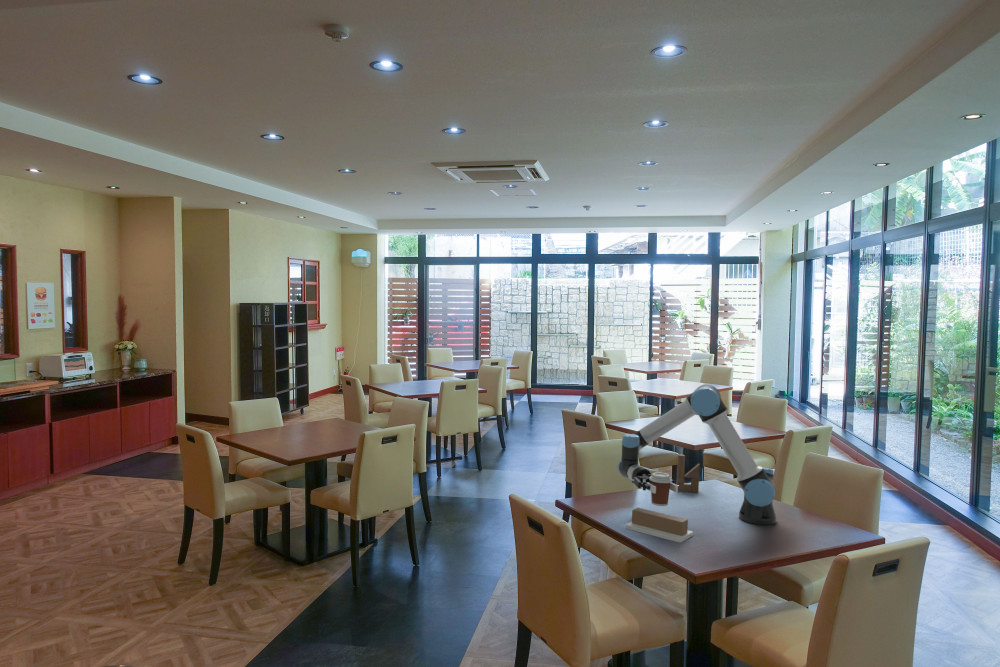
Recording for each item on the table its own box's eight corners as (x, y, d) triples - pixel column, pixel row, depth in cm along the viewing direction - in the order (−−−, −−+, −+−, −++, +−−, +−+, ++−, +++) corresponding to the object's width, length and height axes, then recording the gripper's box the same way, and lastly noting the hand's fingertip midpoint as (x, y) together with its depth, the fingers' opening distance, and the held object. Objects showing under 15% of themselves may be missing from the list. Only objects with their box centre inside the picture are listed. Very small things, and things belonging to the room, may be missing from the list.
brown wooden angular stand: (698, 492, 324) (699, 457, 324) (676, 490, 327) (677, 455, 326) (698, 491, 328) (699, 455, 327) (676, 489, 330) (677, 454, 330)
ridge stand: (693, 535, 260) (693, 518, 260) (680, 542, 251) (681, 524, 251) (639, 521, 276) (639, 505, 276) (625, 528, 267) (625, 511, 266)
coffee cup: (643, 501, 265) (644, 472, 265) (660, 499, 269) (661, 470, 269) (658, 508, 257) (659, 478, 257) (676, 505, 261) (677, 476, 261)
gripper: (661, 483, 283) (689, 497, 262) (616, 484, 278) (640, 500, 256) (662, 466, 283) (690, 479, 261) (617, 467, 277) (641, 481, 256)
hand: (666, 489), depth 259 cm, fingers closed on coffee cup, 9 cm apart
